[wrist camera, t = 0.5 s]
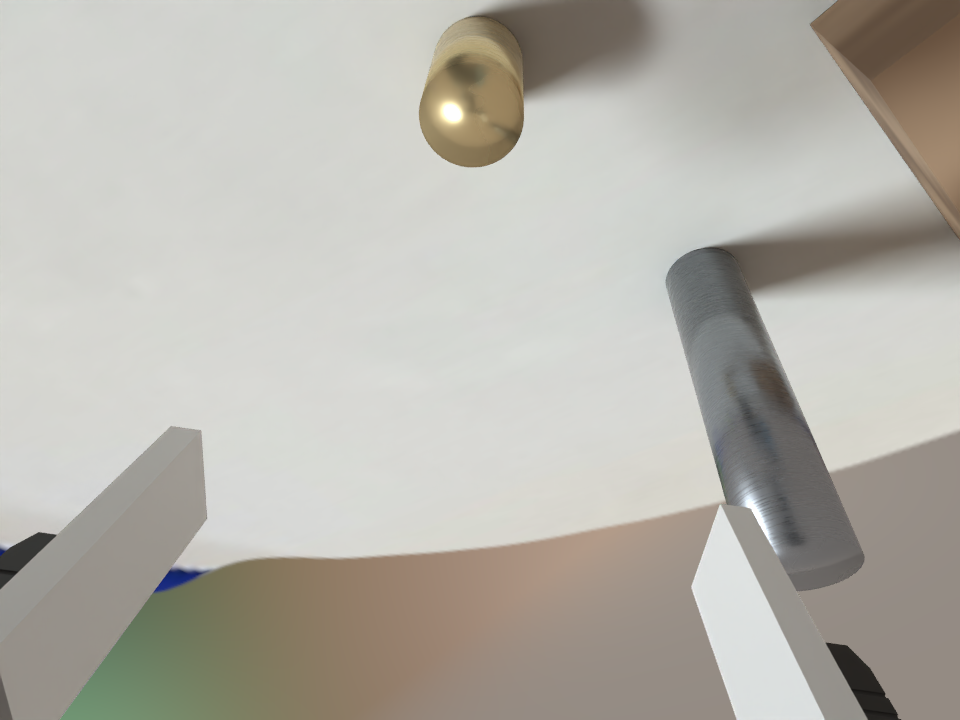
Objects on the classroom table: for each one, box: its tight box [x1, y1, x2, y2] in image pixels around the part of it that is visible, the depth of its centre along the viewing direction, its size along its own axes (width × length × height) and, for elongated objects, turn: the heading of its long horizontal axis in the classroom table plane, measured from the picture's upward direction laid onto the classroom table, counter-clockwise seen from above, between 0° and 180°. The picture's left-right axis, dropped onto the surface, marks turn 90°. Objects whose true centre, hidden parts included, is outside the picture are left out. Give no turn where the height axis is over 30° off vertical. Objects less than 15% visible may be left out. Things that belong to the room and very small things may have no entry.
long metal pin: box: [666, 248, 864, 591], centre depth 23 cm, size 3×3×14 cm
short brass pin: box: [419, 16, 524, 167], centre depth 20 cm, size 3×3×4 cm
